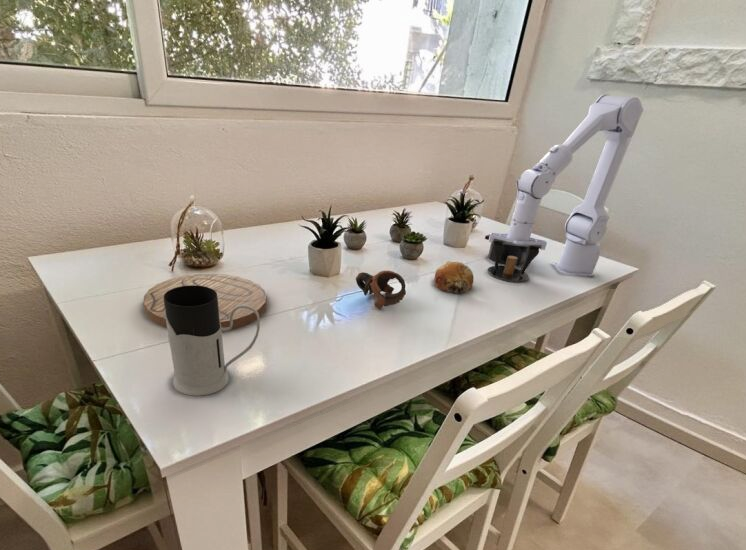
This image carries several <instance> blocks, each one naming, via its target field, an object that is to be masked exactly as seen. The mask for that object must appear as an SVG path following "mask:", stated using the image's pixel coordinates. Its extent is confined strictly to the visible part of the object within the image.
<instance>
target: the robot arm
mask: <svg viewBox="0 0 746 550" xmlns="http://www.w3.org/2000/svg"><path fill="white" fill-rule="evenodd" d="M643 112H644V108H643V105H642V101H641V99H640V98H639V97H637V96H636V97H635V96H633V97H630V96H621V95H620V96H619V95H610V94H607V93H605V94H601V95H600V96H598V98H596V99H595V101H594V102H593V103H592V104H590V106H589V108H588V113H587V115H586V116H585V118H584V119H583V120H582V121H581V122H580V123H579V125H578V126H577V127H576V128H575V129H574V131H573V132H572V133H571V134H570V135H569V136H568V137H567V138H566V140H565V141H564V142H563V143H562V144H555V145H554V146H552V147H551V148H549V149H548V151H547V153H545V155H544V156H543V157H542V158H541V159H540V160H539V161H538V162H537V163H536V164H535V165H534V166H532V168H529V169H526V170H525V171H523V172H522V173H521V174H520V176H519V177H518V179H516V182H515V188H516V191H517V192H516V196H515V198H516V203H515V206H514V210H513V214H512V217H511V221H510V224H509V229H508V231H507V233H497V232H490V233H489V235H490V237H489V240H488V242H489V243H491V242H493V244H494V251H495V262H494V266H495V267H494V270H497V269H498V266H500V264H499V260H500V256H501V253H502V250H503V243H505V244H512V245H519V246H525V247H528V248H527V252H526V256H525V259H524V262H523V264H522V265H521V267H520V270H521V271H520V272H521V274H524V272H526V271H527V269H528V267H529V265H530V264H531V263H532V261H533V260H534V259H535V258H536V257H538V255H539V254H540V250H541V251H545V250H546V249H547V248H546V247H547V244H548V242H547V240H543V239H538V238H534V237H531V236H532V233H533V229H534V226H535V222H536V219H537V217H538V212H539V209H540V206H541V203H542V199H543V197H545V196H546V195H547V194H549V192H550V191H551V189H552V186H553V184H554V183H555V181H556V178H557V177H558V176H559V175H560V174H561V173H562V172H563V171H564V170H565V169H566V168H567V167H568V166H569V165H570V164H571V163H572V161H573V155H574V154H575V153H576V152H577V151H578V150H579V149H580V148H582V146H584V145H585V144H586V143H587V142H588V141H589V140H591V138H593V137H594V136H595V135H597V133H598V132H603V134H604V136H605V139H606V141H605V144H604V147H603V149H602V152H601V154H600V156H599V159H598V162H597V165H596V167H595V170H594V173H593V175H592V177H591V181H590V183H589V185H588V188H587V191H586V194H585V197H584V199H583V201H582V203H580V204H578V205H577V206H574V207H573V209H572V211H571V213H570V214H569V217H568V218H567V219H566V221H565V224H564V232H565V238H566V240H565V244H564V246H563V249H562V252H561V255H560V257H559V261H558V262H552V266H554V267H555V268H556V269H557V270H558V271H559V272H560V273H563V274H573V275H581V276H582V275H583V276H585V277H593V276H594V274H593V273H594V271H595V268H596V266H597V264H598V261H599V258H600V257H601V251H602V246H601V244H600V241H601V240H602V239H603V238H604V237H605V234H606V233H607V225H608V221H609V220H610V219H609V218H610V216H609V214H608V213H607V210H606V209H605V205H606V203H607V200H608V198H609V195H610V193H611V190H612V188H613V185H614V182H615V180H616V177H617V175H618V174H619V173H618V172H619V170H620V167H621V165H622V163H623V160H624V158H625V155H626V153H627V150H628V148H629V145H630V143H631V141H632V138H633V136H634V134H635V131H636V129H637V127H638V124H639V121H640V119H641V118H642V117H641V116H642V114H643Z"/></svg>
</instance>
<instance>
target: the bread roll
mask: <svg viewBox="0 0 746 550" xmlns="http://www.w3.org/2000/svg"><path fill="white" fill-rule="evenodd" d="M474 278H475V277H474V273H473V270H471V268H470V267H469V266H468V265H466V264H464V263H463V262H460V261H451V260H450V261H449V260H448V261H446V262H445V263H444V264H442V265H441V266H439V267H438V268H436V270H435V274H434V286H435V287H436V288H437V289H438V290H440V291H442V292H447V293H449V294H450V293H451V294H452V293H453V294H463V293H465V292H467V291H468V290H471V289H472V288H473V285H474V280H475V279H474Z"/></svg>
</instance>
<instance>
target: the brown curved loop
mask: <svg viewBox="0 0 746 550" xmlns="http://www.w3.org/2000/svg"><path fill="white" fill-rule="evenodd" d="M394 279H396V280H397V281H398V283H399V284H400V285H401V288H400V290H399V291H398V292H395V293H393V292H394V290H395V288H394V287H393V286H392V285H390V284H388V283H389V281H390V280H394ZM355 282H356V285H357V286H358V287H359V289H360V290H361V291H362V293H363V296H367V295H368V294H369V295H370V296H371V295H372V294H373V295H374V296H375V298H376V301H375V302H374V307H375V308H377V309H378V310H381V309H382V308H383V307H391V306H393V305H397V304H399V303H400V301H402V300H403V299H404V298H405V296H406V295H407V290H406V286H407V285H406V282H405V279H404V278H403V276H401V275H400V274H399V273H397V272H395V271H392V270H381V271H379V272H378V273H376V274H374V275H372V274H370V273H368V272H359V273H358V274H357V276H356V277H355ZM381 292H383V293H385V294H384V295H383V294H382V293H381Z"/></svg>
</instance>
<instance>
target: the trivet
mask: <svg viewBox="0 0 746 550" xmlns="http://www.w3.org/2000/svg"><path fill="white" fill-rule="evenodd" d="M190 285H196V286H204V287H208V288H211V289H213V290H214V291H216V293H217V297H218V308H219V319H220V323H221V327H222V328H226V327H229V326H230V315H231V312H232V310H233V309H234V308H235V307H236V306H238V305H242V304H244V305H249V306H252V307H253V308H255V309H256V310H257V312H258V314H259V318H260V317H262V315H263V314H264V312H266V310H267V305H268V303H267V302H268V298H267V293H266V290H265V289H264V288H263V287H262V286H261V285H260V284H258V283H256V282H254V281H253V280H250V279H247V278H244V277H241V276H237V275H231V274H224V273H222V274H221V273H195V274H187V275H181V276H177V277H173V278H169V279H166V280H164V281H161V282H159V283H157V284H155V285H153V286H152V287H150V288H149V289H148V290H147V291H146V293H145V294H144V295H143V301H142V304H143V308H144V309H143V310H144V312H145V315H146V316H147V317H148V319H149V320H151V321H152V322H154V324H156V325H159V326H161V327H164V328H167V324H166V318H165V303H164V294H165V293H166V292H167V291H169V290H171V289H173V288H177V287H181V286H190ZM256 320H257V316H256V314H255V312H254V311H252V310H251V309H248V308H239V309H238V310H236V311H235V312H234V314H233V325H232V328H231V329H230V330H233V329H237V328H240V327H242V326H243V327H244V326H245V325H248V324H251V323H252V322H254V321H256Z"/></svg>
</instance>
